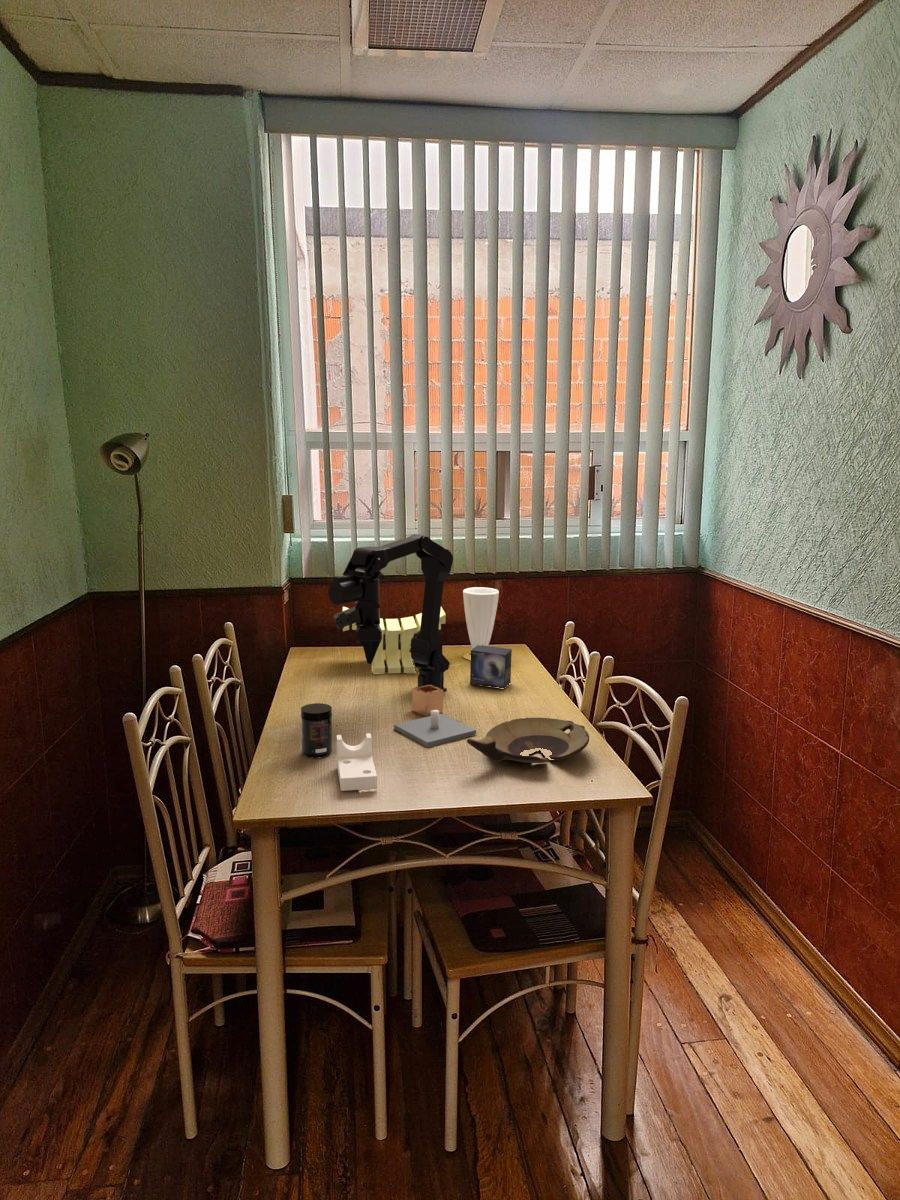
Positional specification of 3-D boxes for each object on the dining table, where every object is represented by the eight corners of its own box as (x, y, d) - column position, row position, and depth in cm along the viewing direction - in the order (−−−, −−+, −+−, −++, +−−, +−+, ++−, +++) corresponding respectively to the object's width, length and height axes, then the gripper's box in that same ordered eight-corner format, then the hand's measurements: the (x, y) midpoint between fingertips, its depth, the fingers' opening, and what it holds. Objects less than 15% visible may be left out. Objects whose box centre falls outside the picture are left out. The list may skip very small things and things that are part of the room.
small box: (468, 685, 229) (469, 649, 227) (476, 679, 235) (477, 644, 233) (504, 690, 225) (505, 653, 223) (511, 683, 231) (512, 648, 229)
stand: (441, 718, 202) (441, 698, 201) (476, 734, 191) (476, 713, 190) (393, 729, 194) (394, 708, 193) (427, 747, 183) (427, 725, 182)
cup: (498, 661, 254) (500, 594, 249) (461, 661, 254) (462, 593, 249) (496, 652, 265) (498, 587, 261) (461, 651, 265) (462, 586, 261)
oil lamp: (608, 770, 172) (610, 736, 170) (472, 782, 165) (473, 747, 163) (568, 733, 193) (570, 702, 192) (446, 742, 186) (447, 711, 185)
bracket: (336, 769, 171) (336, 735, 170) (370, 766, 172) (370, 733, 171) (340, 795, 159) (340, 759, 157) (377, 792, 160) (377, 756, 158)
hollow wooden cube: (430, 706, 211) (430, 684, 209) (442, 712, 206) (443, 689, 205) (412, 710, 207) (412, 688, 206) (424, 716, 203) (425, 693, 202)
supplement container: (325, 745, 183) (324, 701, 181) (337, 755, 178) (337, 710, 176) (297, 751, 180) (295, 706, 178) (308, 761, 174) (307, 715, 172)
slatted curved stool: (438, 658, 257) (439, 603, 253) (444, 672, 241) (445, 614, 238) (343, 660, 253) (342, 604, 249) (343, 674, 237) (342, 615, 234)
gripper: (336, 591, 210) (337, 649, 213) (334, 607, 192) (336, 670, 195) (379, 590, 211) (380, 648, 214) (381, 606, 193) (382, 669, 196)
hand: (369, 658), depth 205 cm, fingers open, 9 cm apart
